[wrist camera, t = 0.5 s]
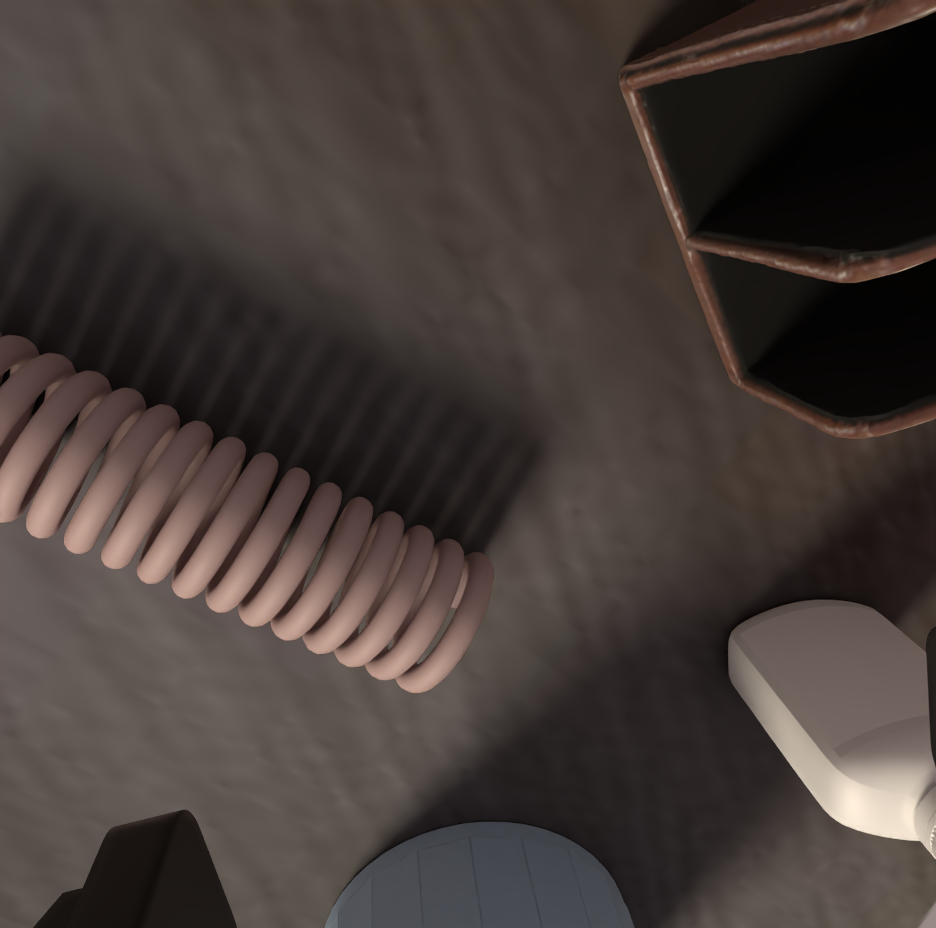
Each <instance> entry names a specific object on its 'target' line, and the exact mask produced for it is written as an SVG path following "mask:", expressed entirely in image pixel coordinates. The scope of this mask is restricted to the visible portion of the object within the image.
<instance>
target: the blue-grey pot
mask: <svg viewBox="0 0 936 928" xmlns="http://www.w3.org/2000/svg"><path fill="white" fill-rule="evenodd" d="M325 928H634V925H633V922H632V919H631V917H630V914H629V911H628V908H627V906H626V905H625V903H624V902H623V899H622V896H621V893H620V891H619V889H618V887H617V885H616V883H615V881H614V880H613V878H612V877H611V875H610V874H609V873H608V871H607V870H606V868H605V867H604V866H603V865H602V864H601V863H600V862H599V861H598V860H597V859H596V858H595V857H594V856H593V855H592V854H590V853H589V852H588V851H586V850H585V849H584V848H582V847H581V846H580V845H578V844H576V843H574V842H573V841H571V840H569V839H567V838H565V837H563V836H561V835H559V834H556V833H553V832H551V831H548V830H545V829H542V828H538V827H534V826H530V825H526V824H518V823H510V822H474V823H464V824H458V825H453V826H449V827H444V828H440V829H437V830H433V831H430V832H427V833H424V834H421V835H419V836H416V837H414V838H412V839H410V840H407V841H405V842H403V843H401V844H399V845H397V846H396V847H394V848H392V849H390V850H389V851H387V852H385V853H384V854H382V855H381V856H379V857H378V858H377V859H375V860H374V861H373V862H371V863H370V864H369V865H367V866H366V867H365V868H364V869H363V870H362V871H361V872H360V873H359V874H358V875H357V876H356V877H355V878H354V879H353V880H352V881H351V882H350V884H349V885H348V886H347V887H346V888H345V890H344V891H343V892H342V893H341V895H340V897H339V898H338V900H337V902H336V903H335V905H334V907H333V908H332V910H331V913H330V915H329V917H328V920H327V922H326V924H325Z"/></svg>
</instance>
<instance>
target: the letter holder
mask: <svg viewBox="0 0 936 928" xmlns="http://www.w3.org/2000/svg"><path fill="white" fill-rule="evenodd" d="M617 80H618V83H619V86H620V88H621V91H622V94H623V96H624V99H625V101H626V104H627V107H628V110H629V113H630V116H631V118H632V121H633V124H634V127H635V129H636V132H637V135H638V137H639V140H640V143H641V146H642V148H643V151H644V153H645V155H646V157H647V161H648V165H649V168H650V171H651V173H652V175H653V178H654V180H655V183H656V185H657V188H658V191H659V193H660V196H661V199H662V202H663V205H664V208H665V211H666V213H667V216H668V218H669V221H670V224H671V226H672V229H673V232H674V234H675V237H676V239H677V242H678V244H679V247H680V250H681V253H682V256H683V259H684V262H685V264H686V266H687V270H688V273H689V275H690V278H691V280H692V283H693V285H694V288H695V290H696V293H697V295H698V298H699V302H700V304H701V306H702V309H703V312H704V314H705V317H706V319H707V323H708V326H709V330H710V332H711V333H712V336H713V338H714V340H715V343H716V346H717V348H718V352H719V354H720V357H721V359H722V361H723V364H724V366H725V369H726V371H727V373H728V376H729V378H730V380H731V381H732V382H733V383H734V384H736V385H738V386H739V387H740V388H742V389H744V391H747V392H748V393H750V394H752V395H754V396H756V397H758V398H760V399H762V400H763V401H764V402H767V403H770V404H772V405H775V406H776V407H779V408H781V409H783V410H785V411H787V412H789V413H790V414H792V415H794V416H795V417H797V418H799V419H801V420H804V421H807V422H808V423H809V424H811V425H814V426H815V427H817V428H818V429H820V430H822V431H824V432H826V433H828V434H831V435H833V436H836V437H841V438H850V439H862V438H869V437H876V436H881V435H884V434H888V433H892V432H895V431H899V430H902V429H905V428H908V427H911V426H915V425H918V424H921V423H924V422H927V421H930V420H933V419H936V0H757V1H755V2H754V3H752V4H750V5H747V6H745V7H743V8H742V9H740V10H738V11H736V12H733V13H732V14H730V15H728V16H726V17H724V18H721V19H719V20H718V21H716V22H714V23H712V24H709V25H707V26H705V27H704V28H702V29H700V30H698V31H696V32H694V33H692V34H690V35H689V36H686V37H683V38H681V39H680V40H678V41H676V42H673V43H671V44H669V45H668V46H666V47H660V48H658V49H657V50H656V51H654V52H652V53H649V54H647V55H645V56H643V57H641V58H639V59H637V60H634V61H632V62H630V63H628V64H625V65H623V66H622V67H621V68H620V71H619V75H618V77H617Z"/></svg>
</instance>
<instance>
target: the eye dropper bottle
mask: <svg viewBox="0 0 936 928" xmlns="http://www.w3.org/2000/svg"><path fill="white" fill-rule="evenodd" d="M728 670H729V677H730V680H731V682H732V684H733V686H734V687H735V688H736V690H737V691H738V693H739V694H740V695H741V697H742V698H743V700H744V701H745V703H746V704H747V705H748V707H749V708H750V709H751V711H752V712H753V714H754V715H755V716H756V718H757V719H758V721H759V722H760V723H761V725H762V726H763V728H764V729H765V730H766V732H767V733H768V735H769V736H770V737H771V739H772V740H773V741H774V743H775V744H776V746H777V747H778V748H779V750H780V751H781V752H782V754H783V755H784V757H785V758H786V759H787V761H788V762H789V763H790V765H791V766H792V768H793V769H794V770H795V772H796V773H797V774H798V776H799V777H800V779H801V780H802V781H803V783H804V784H805V785H806V787H807V788H808V789H809V791H810V792H811V793H812V795H813V796H814V797H815V798H816V800H817V801H818V802H819V804H820V805H821V806H822V808H823V809H824V810H825V811H826V812H827V813H828V814H829V815H830V816H831V817H832V818H834V819H835V820H837V821H838V822H839V823H841V824H842V825H845V826H847V827H850V828H853V829H855V830H859V831H862V832H865V833H869V834H873V835H878V836H882V837H888V838H894V839H901V840H913V841H921V842H922V843H923V845H924V846H925V847H926V848H927V849H928V851H929V852H930V853H931V854H932V855H933V857H934V858H935V859H936V767H935V763H934V760H933V756H932V751H931V741H930V721H929V700H928V679H927V659H926V652H925V651H924V650H923V649H921V648H920V647H919V646H918V645H917V644H916V643H914V642H913V641H912V640H911V639H910V638H909V637H907V636H906V635H905V634H904V633H903V632H902V631H900V630H899V629H898V628H897V627H896V626H894V625H893V624H892V623H891V622H890V621H889V620H887V619H886V618H885V617H884V616H883V615H881V614H880V613H879V612H877V611H876V610H875V609H873V608H871V607H868V606H865V605H862V604H858V603H853V602H848V601H840V600H808V601H800V602H795V603H790V604H786V605H782V606H779V607H776V608H773V609H770V610H768V611H765V612H763V613H760V614H758V615H756V616H754V617H752V618H750V619H748V620H746V621H744V622H743V623H741V624H739V625H738V626H737V627H736V628H735V629H734V630H733V631H732V632H731V635H730V638H729V642H728Z"/></svg>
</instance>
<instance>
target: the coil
mask: <svg viewBox="0 0 936 928" xmlns="http://www.w3.org/2000/svg"><path fill="white" fill-rule="evenodd" d="M8 369H10V377H9V378H8V380H7V381H6V382H5V383H4V384H3V385H2V386H1V387H0V522H11V521H13V520H14V519H16V518H18V517H19V516H20V515H21V514H22V513H23V512H24V510H25V509H26V507H27V506H28V504H29V503H30V501H31V500H32V498H33V496H34V495H35V493H36V491H37V490H38V488H39V486H40V484H41V482H42V481H43V479H44V477H45V475H46V473H47V471H48V469H49V467H50V465H51V463H52V461H53V459H54V456H55V454H56V452H57V450H58V447H59V445H60V443H61V440H62V438H63V435H64V433H65V430H66V428H67V426H68V425H69V424H70V422H71V421H72V420H73V419H74V418H75V416H76V415H77V414H78V413H79V412H80V414H79V418H78V422H77V425H76V428H75V431H74V433H73V435H72V437H71V438H70V440H69V441H68V443H67V444H66V446H65V447H64V449H63V450H62V452H61V453H60V455H59V456H58V458H57V460H56V461H55V463H54V464H53V466H52V468H51V469H50V471H49V473H48V474H47V476H46V478H45V480H44V481H43V483H42V485H41V487H40V489H39V491H38V493H37V494H36V496H35V498H34V501H33V503H32V505H31V507H30V509H29V512H28V515H27V518H26V528H27V530H28V531H29V532H30V534H31V535H33V536H35V537H37V538H48V537H49V536H51V535H53V534H55V533H56V532H57V530H58V529H59V527H60V526H61V524H62V522H63V521H64V519H65V517H66V515H67V514H68V512H69V510H70V508H71V506H72V505H73V503H74V501H75V499H76V497H77V495H78V493H79V491H80V489H81V487H82V485H83V483H84V480H85V478H86V476H87V474H88V472H89V469H90V467H91V466H92V464H93V463H94V461H95V459H96V458H97V457H98V455H99V454H100V452H101V451H102V449H103V448H104V446H105V445H106V444H107V442H108V441H109V440H110V442H109V445H108V448H107V450H106V453H105V456H104V458H103V461H102V463H101V466H100V468H99V470H98V473H97V475H96V477H95V479H94V481H93V483H92V485H91V486H90V488H89V490H88V491H87V493H86V495H85V497H84V498H83V500H82V502H81V504H80V505H79V507H78V509H77V511H76V513H75V514H74V516H73V518H72V520H71V522H70V524H69V526H68V528H67V530H66V532H65V535H64V544H65V546H66V547H67V549H68V550H69V551H71V552H73V553H75V554H80V553H86V552H87V551H89V550H91V549H92V547H93V545H94V544H95V542H96V540H97V538H98V536H99V534H100V533H101V531H102V529H103V527H104V525H105V524H106V522H107V520H108V518H109V517H110V515H111V513H112V512H113V510H114V508H115V506H116V505H117V503H118V501H119V500H120V498H121V496H122V495H123V493H124V492H125V490H126V488H127V487H128V485H129V484H130V482H131V480H132V479H133V477H134V476H135V478H134V480H133V483H132V485H131V487H130V490H129V492H128V495H127V497H126V499H125V501H124V504H123V506H122V508H121V510H120V513H119V515H118V517H117V519H116V521H115V524H114V526H113V528H112V530H111V532H110V534H109V536H108V538H107V541H106V543H105V545H104V547H103V549H102V551H101V560H102V561H103V563H104V564H105V566H107V567H110V568H112V569H120V568H122V567H124V566H126V565H127V564H128V563H129V562H130V561H131V559H132V558H133V556H134V554H135V553H136V551H137V550H138V548H139V546H140V545H141V543H142V541H143V540H144V538H145V536H146V535H147V533H148V531H149V530H150V528H151V526H152V525H153V523H154V525H153V527H152V529H151V532H150V534H149V536H148V539H147V541H146V544H145V546H144V548H143V551H142V553H141V556H140V558H139V561H138V564H137V574H138V576H139V577H140V579H141V580H142V581H144V582H146V583H148V584H154V583H158V582H159V581H161V580H163V579H164V578H165V577H166V576H167V575H168V574H169V572H170V571H171V569H172V568H173V567H174V565H175V564H176V566H175V569H174V573H173V576H172V589H173V590H174V592H175V593H176V595H178V596H180V597H182V598H192V597H194V596H196V595H197V594H199V593H200V592H201V591H203V589H204V588H205V587H206V586H207V588H206V603H207V604H208V606H209V607H210V609H212V610H214V611H216V612H218V613H221V612H228V611H230V610H231V609H233V608H234V607H235V606H237V605H238V604H239V615H240V617H241V619H242V621H243V622H244V623H245V624H247V625H249V626H251V627H254V626H262V625H264V624H265V623H267V622H268V621H270V620H271V627H272V629H273V631H274V633H275V634H276V636H277V637H279V638H281V639H283V640H295V639H297V638H299V637H301V636H303V641H304V642H305V644H306V646H307V648H308V649H309V650H311V651H313V652H315V653H317V654H323V653H329V652H331V651H333V650H334V653H335V655H336V657H337V659H338V660H339V662H340V663H342V664H344V665H346V666H348V667H358V666H362V665H365V667H366V669H367V670H368V672H369V673H370V675H372V676H374V677H375V678H377V679H379V680H390V679H394V678H395V679H396V681H397V683H398V685H399V686H400V687H401V688H403V689H405V690H406V691H408V692H411V693H419V692H424V691H427V690H429V689H431V688H433V687H434V686H435V685H437V684H438V683H439V682H440V681H442V680H443V679H444V678H445V677H446V676H447V675H448V674H449V673H450V672H451V670H452V669H453V668H454V667H455V666H456V664H457V663H458V662H459V660H460V659H461V657H462V656H463V655H464V653H465V651H466V650H467V648H468V647H469V645H470V643H471V641H472V640H473V638H474V636H475V634H476V632H477V630H478V628H479V626H480V623H481V621H482V619H483V616H484V614H485V611H486V608H487V606H488V602H489V599H490V595H491V591H492V585H493V578H494V569H493V565H492V563H491V561H490V559H489V558H488V557H487V556H486V555H484V554H483V553H478V552H473V553H470V554H468V555H466V556H465V557H464V552H463V550H462V547H461V545H460V544H459V543H458V542H456V541H455V540H453V539H444V540H442V541H440V542H438V543H436V544H435V545H434V537H433V534H432V532H431V530H430V529H428V528H427V527H425V526H421V525H416V526H414V527H412V528H410V529H408V530H407V531H406V532H405V533H404V535H403V530H404V522H403V520H402V518H401V516H400V515H398V514H397V513H395V512H391V511H387V512H384V513H382V514H380V515H379V516H378V517H377V519H376V520H375V521H374V523H373V524H372V526H371V527H370V525H371V522H372V517H373V507H372V505H371V502H370V501H368V500H367V499H365V498H364V497H356V498H354V499H351V500H350V501H349V502H348V504H347V505H346V507H345V508H344V510H343V511H342V513H341V515H340V516H339V518H338V520H337V522H336V524H335V526H334V528H333V530H332V533H331V535H330V537H329V539H328V541H327V544H326V546H325V548H324V551H323V553H322V556H321V558H320V561H319V564H318V566H317V569H316V572H315V574H314V576H313V578H312V579H311V581H310V583H309V584H308V586H307V587H306V589H305V590H304V592H303V593H302V590H303V586H304V583H305V580H306V576H307V574H308V571H309V568H310V565H311V564H312V562H313V560H314V558H315V556H316V555H317V553H318V551H319V549H320V547H321V545H322V543H323V542H324V540H325V538H326V536H327V534H328V532H329V530H330V528H331V525H332V523H333V521H334V519H335V517H336V514H337V512H338V510H339V507H340V504H341V499H342V492H341V490H340V488H339V487H338V486H337V485H335V484H334V483H328V482H326V483H324V484H321V485H320V486H319V487H318V489H317V490H316V491H315V493H314V495H313V497H312V499H311V501H310V503H309V505H308V507H307V509H306V511H305V513H304V516H303V518H302V520H301V522H300V525H299V527H298V529H297V531H296V532H295V534H294V536H293V538H292V540H291V541H290V543H289V545H288V547H287V548H286V550H285V552H284V554H283V555H282V557H281V559H280V560H279V562H278V564H277V561H278V558H279V555H280V553H281V550H282V547H283V545H284V542H285V540H286V537H287V535H288V532H289V530H290V527H291V525H292V522H293V520H294V518H295V515H296V513H297V511H298V509H299V507H300V505H301V503H302V501H303V499H304V497H305V495H306V493H307V491H308V489H309V486H310V477H309V474H308V472H306V471H305V470H304V469H302V468H293V469H290V470H288V471H287V473H286V474H285V475H284V477H283V478H282V480H281V482H280V484H279V485H278V487H277V489H276V491H275V492H274V494H273V496H272V498H271V500H270V501H269V503H268V505H267V507H266V508H265V510H264V512H263V514H262V516H261V517H260V519H259V521H258V518H259V516H260V513H261V511H262V508H263V506H264V504H265V501H266V499H267V496H268V494H269V492H270V489H271V487H272V484H273V482H274V479H275V477H276V474H277V472H278V461H277V459H276V457H275V456H273V455H272V454H270V453H264V452H262V453H259V454H257V455H255V456H254V457H253V458H252V460H251V461H250V462H249V464H248V465H247V467H246V468H245V470H244V471H243V473H242V474H241V476H240V477H239V475H240V472H241V469H242V466H243V463H244V460H245V454H246V447H245V445H244V443H243V442H242V441H241V440H240V439H238V438H236V437H227V438H224V439H222V440H220V441H219V442H218V443H217V445H216V446H215V447H214V448H213V450H212V451H211V447H212V442H213V432H212V430H211V428H210V426H209V425H207V424H206V423H205V422H202V421H192V422H190V423H188V424H186V425H184V426H183V427H182V428H181V429H180V430H179V426H180V418H179V416H178V414H177V412H176V410H175V409H173V408H172V407H171V406H168V405H162V404H159V405H157V406H154V407H152V408H149V409H148V410H147V411H146V403H145V400H144V398H143V396H142V395H141V394H140V393H139V392H138V391H136V390H135V389H131V388H121V389H118V390H116V391H113V392H112V390H111V386H110V384H109V382H108V380H107V378H106V377H105V376H103V375H102V374H101V373H99V372H95V371H88V370H87V371H83V372H80V373H78V374H76V371H75V369H74V367H73V364H72V362H71V361H70V360H68V359H67V358H66V357H64V356H63V355H60V354H54V353H46V354H43V355H41V356H40V355H39V352H38V350H37V348H36V346H35V345H34V344H33V343H32V342H31V341H29V340H28V339H27V338H25V337H21V336H16V335H7V336H4V337H2V334H1V332H0V385H1V382H2V378H3V373H5V372H6V371H7V370H8ZM45 389H46V393H45V399H44V403H43V404H42V405H41V407H40V408H39V409H38V411H37V412H36V413H35V414H34V416H33V417H32V418H31V420H30V421H29V419H30V416H31V413H32V411H33V408H34V405H35V401H36V398H37V397H38V396H39V395H40V394H41V393H42V392H43V391H44V390H45ZM28 421H29V423H28ZM110 438H111V439H110ZM210 451H211V452H210ZM135 474H136V475H135ZM238 477H239V479H238ZM237 480H238V481H237ZM257 521H258V522H257ZM256 523H257V524H256ZM369 528H370V529H369ZM176 562H177V563H176ZM276 564H277V565H276ZM348 573H349V574H348ZM347 575H348V576H347ZM346 577H347V579H346ZM345 579H346V582H345V585H344V588H343V591H342V594H341V597H340V601H339V604H338V606H337V607H336V609H335V610H334V611H333V613H332V614H331V615H330V617H329V614H330V609H331V605H332V601H333V599H334V597H335V595H336V594H337V592H338V591H339V589H340V587H341V586H342V584H343V582H344V580H345ZM301 593H302V595H301ZM450 607H451V608H457V610H456V612H455V614H454V616H453V618H452V620H451V622H450V624H449V626H448V628H447V629H446V631H445V633H444V634H443V636H442V638H441V639H440V641H439V642H438V644H437V645H436V646H435V648H434V649H433V650H432V652H431V653H430V654H429V655H428V656H427V657H426V659H425V660H424V661H423V662H421V663H420V664H418V665H417V660H418V659H419V658H420V657H421V655H422V654H423V653H424V652H425V650H426V649H427V648H428V646H429V645H430V643H431V642H432V640H433V639H434V637H435V635H436V634H437V632H438V631H439V629H440V627H441V625H442V623H443V622H444V620H445V618H446V616H447V614H448V612H449V609H450ZM368 611H369V612H368ZM367 612H368V616H367V620H366V625H365V628H364V629H363V630H362V632H361V633H360V634H359V635H358V628H359V624H360V623H361V621H362V620H363V618H364V617H365V615H366V614H367ZM393 636H394V640H393V647H392V648H391V649H390V650H388V646H387V644H388V643H389V642H390V640H391V639H392V638H393Z"/></svg>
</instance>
